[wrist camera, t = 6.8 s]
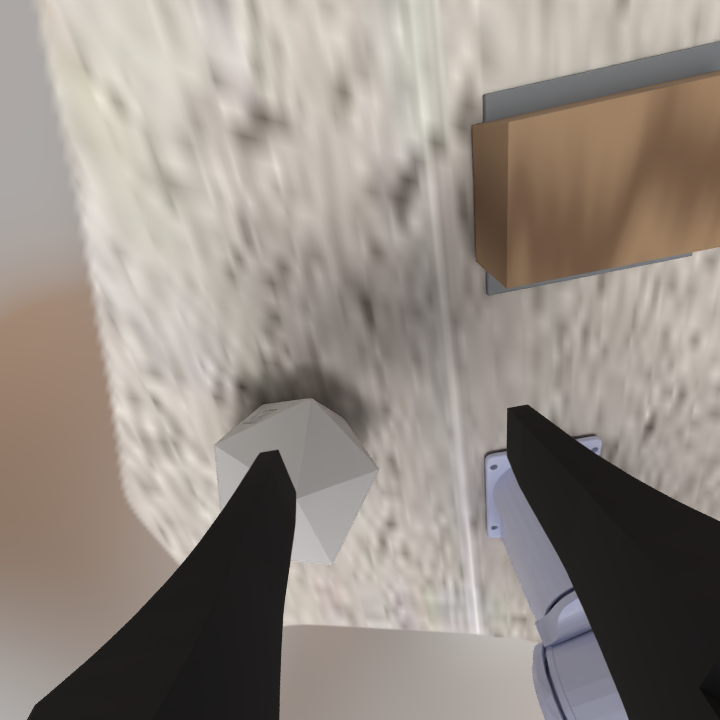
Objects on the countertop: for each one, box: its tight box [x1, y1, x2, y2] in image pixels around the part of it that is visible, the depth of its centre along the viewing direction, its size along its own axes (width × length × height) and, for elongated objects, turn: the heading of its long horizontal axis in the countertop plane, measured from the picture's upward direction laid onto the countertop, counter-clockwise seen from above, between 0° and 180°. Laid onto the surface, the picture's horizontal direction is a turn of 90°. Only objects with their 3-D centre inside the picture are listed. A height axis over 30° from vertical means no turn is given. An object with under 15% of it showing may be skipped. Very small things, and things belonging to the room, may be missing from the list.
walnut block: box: [472, 71, 720, 289], centre depth 16 cm, size 6×4×10 cm
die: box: [214, 398, 379, 565], centre depth 21 cm, size 8×9×10 cm
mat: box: [483, 42, 720, 296], centre depth 18 cm, size 9×11×1 cm
